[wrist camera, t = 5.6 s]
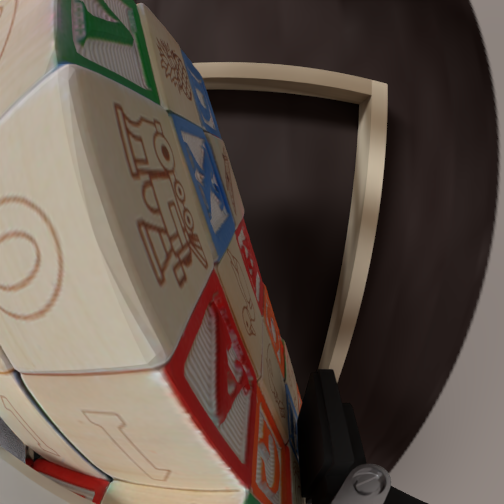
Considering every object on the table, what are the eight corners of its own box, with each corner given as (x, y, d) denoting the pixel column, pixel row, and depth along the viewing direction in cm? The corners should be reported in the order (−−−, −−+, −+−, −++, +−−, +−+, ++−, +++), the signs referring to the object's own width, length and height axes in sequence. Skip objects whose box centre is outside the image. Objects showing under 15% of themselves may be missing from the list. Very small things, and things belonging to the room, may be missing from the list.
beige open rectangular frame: (138, 81, 16) (121, 71, 13) (373, 94, 15) (387, 84, 12) (150, 408, 24) (142, 425, 21) (309, 429, 23) (311, 448, 20)
